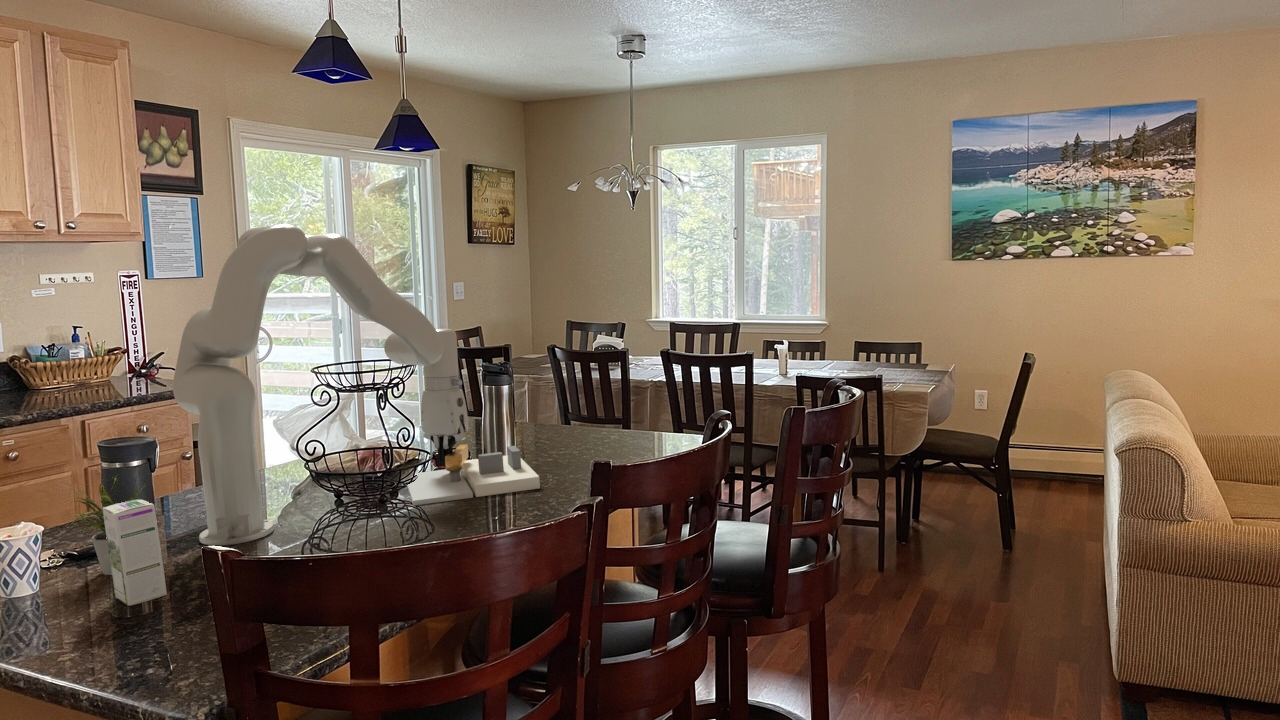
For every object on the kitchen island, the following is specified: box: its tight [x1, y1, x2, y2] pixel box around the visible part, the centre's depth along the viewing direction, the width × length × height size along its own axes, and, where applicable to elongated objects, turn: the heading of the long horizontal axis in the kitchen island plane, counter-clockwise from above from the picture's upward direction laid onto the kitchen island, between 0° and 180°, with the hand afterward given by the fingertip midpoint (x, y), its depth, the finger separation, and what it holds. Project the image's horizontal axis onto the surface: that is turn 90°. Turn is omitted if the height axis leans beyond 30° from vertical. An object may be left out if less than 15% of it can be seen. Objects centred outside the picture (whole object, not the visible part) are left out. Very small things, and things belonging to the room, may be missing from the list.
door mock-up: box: [406, 445, 541, 506], centre depth 192 cm, size 24×26×6 cm
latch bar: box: [445, 444, 469, 471], centre depth 196 cm, size 13×4×3 cm, turn 0°
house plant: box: [62, 473, 148, 576], centre depth 147 cm, size 14×14×16 cm
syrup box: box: [102, 498, 168, 606], centre depth 134 cm, size 6×6×14 cm
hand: (445, 465), depth 199 cm, fingers closed
